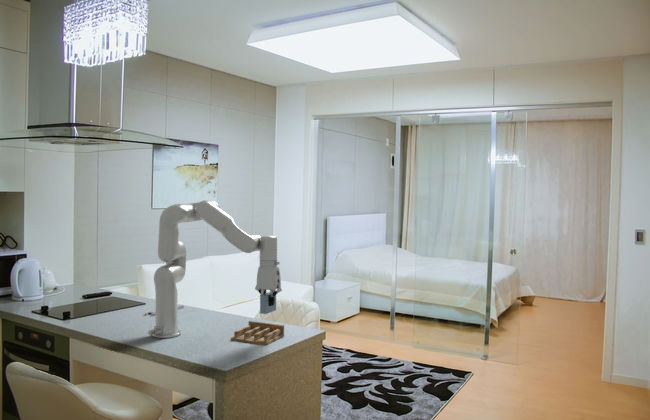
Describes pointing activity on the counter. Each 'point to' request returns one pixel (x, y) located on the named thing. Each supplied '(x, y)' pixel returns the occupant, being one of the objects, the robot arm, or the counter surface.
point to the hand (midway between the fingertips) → (268, 304)
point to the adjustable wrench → (153, 313)
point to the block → (266, 304)
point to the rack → (259, 333)
